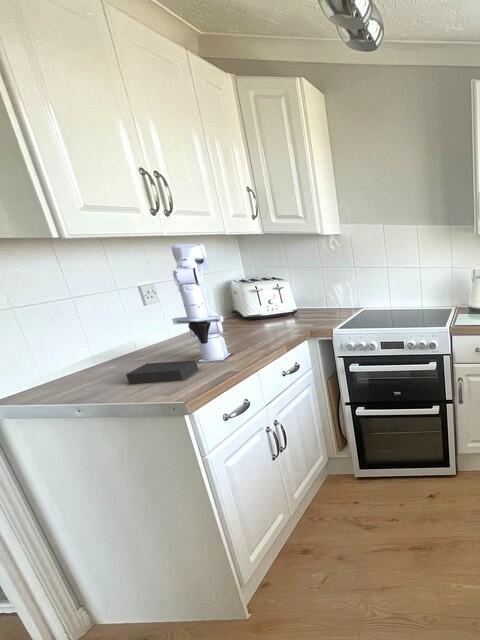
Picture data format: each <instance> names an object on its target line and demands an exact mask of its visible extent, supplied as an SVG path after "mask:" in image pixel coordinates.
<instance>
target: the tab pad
mask: <svg viewBox="0 0 480 640" xmlns="http://www.w3.org/2000/svg"><path fill="white" fill-rule="evenodd" d="M178 361H179V362H178V363H176V364H171V365H164V366H162V367H161V368H159V369H166V368H167V369H166V370H164V371H162V372H163V376H164V379H165V382H176V381H184V380H185V379H187V378H188V377H189V376H191V375H193V374H194V373H195V372H197V371H198V370H199V366H198V362H197V360H196V359H193V360H192V359H191V360H178Z"/></svg>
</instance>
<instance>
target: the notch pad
mask: <svg viewBox="0 0 480 640" xmlns="http://www.w3.org/2000/svg"><path fill="white" fill-rule="evenodd" d="M179 361H180V360H177V361H163V362H161V361H160V362H148V363H145V364H142V365H141V366H139V367H136V368H135V369H133V370H131V371H129V372H127V373H126V374H125V375H126V379H127V381H128V384H129V385H137V384H139V385H140V384H151V383H163V382H165V383H166V381H165V379H164V376H163V372H162V371H164V370H166V369H167V368H166V369H159V368H161V367H162V366H164V365H171V364H176V363H178V362H179Z"/></svg>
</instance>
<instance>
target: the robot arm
mask: <svg viewBox="0 0 480 640" xmlns="http://www.w3.org/2000/svg"><path fill="white" fill-rule="evenodd" d="M171 252H172V256H173V258H174V260H175V263H176V268H175V269H174V270H172V276H173V281H174V283H175V285H176V286H177V290H178V292H179V293H180V296H181V301H182V304H183V307H184V311H185V314H186V316H182V317H181V316H180V317H174V318H172V319H171V320H172V324H173V325H179V324H180V325H182V324H183V325H184V324H185V325H186V324H188V325H187V326H188V329H189V333H190V335H191V336H192V337H193V338H196V340H197V342H198V346H199V350H200V353H201V357H202V358H200V359H199V360H198V363H205V362H220V361H221V362H222V361H224V360H225V359H226V358H228V357H229V356H230V355H231V354H232V353H231V352H228V348H227V344H226V341H225V338H224V337H223V336H222V335H223V334H224V329H223V328H224V327H223V324H222V323H223V322H224V317H223V315H219V314H218V313H217V312H214V311H212V310H211V309H210V305H209V300H208V294H207V288H206V283H205V277H204V273H205V271H206V270H207V269H209V261H208V254H207V250H206V246H205V244H203V243H172V244H171Z"/></svg>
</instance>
